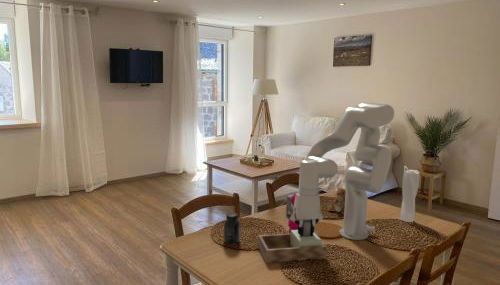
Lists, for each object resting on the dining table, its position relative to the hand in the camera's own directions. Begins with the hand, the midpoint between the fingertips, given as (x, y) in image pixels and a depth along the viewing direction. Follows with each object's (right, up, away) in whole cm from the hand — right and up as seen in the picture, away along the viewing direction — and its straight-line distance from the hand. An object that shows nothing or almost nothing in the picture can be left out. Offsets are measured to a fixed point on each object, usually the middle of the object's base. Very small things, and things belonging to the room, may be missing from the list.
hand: (305, 234), depth 151 cm
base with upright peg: (0, -6, +1) cm, 6 cm away
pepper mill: (-2, -4, +19) cm, 20 cm away
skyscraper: (+57, -3, +38) cm, 68 cm away
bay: (-6, -7, 0) cm, 9 cm away
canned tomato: (0, -1, +41) cm, 41 cm away
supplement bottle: (-30, -5, +9) cm, 32 cm away
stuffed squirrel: (+27, 0, +51) cm, 57 cm away
